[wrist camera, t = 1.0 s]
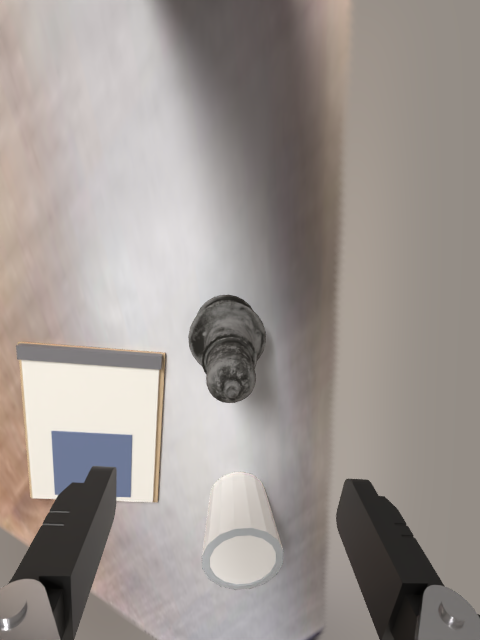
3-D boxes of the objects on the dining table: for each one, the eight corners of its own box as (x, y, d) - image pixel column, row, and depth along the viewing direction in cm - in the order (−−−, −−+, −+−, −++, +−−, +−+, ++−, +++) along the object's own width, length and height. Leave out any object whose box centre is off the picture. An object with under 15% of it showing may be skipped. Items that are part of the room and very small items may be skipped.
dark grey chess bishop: (273, 328, 29) (310, 400, 18) (222, 369, 30) (225, 462, 19) (230, 277, 28) (240, 320, 16) (177, 321, 29) (151, 392, 17)
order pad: (19, 341, 28) (13, 345, 27) (165, 352, 29) (163, 356, 28) (32, 495, 33) (27, 503, 32) (157, 499, 34) (156, 507, 33)
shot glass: (263, 523, 36) (274, 594, 29) (198, 517, 35) (195, 588, 28) (277, 470, 34) (293, 533, 27) (210, 462, 33) (209, 525, 26)
